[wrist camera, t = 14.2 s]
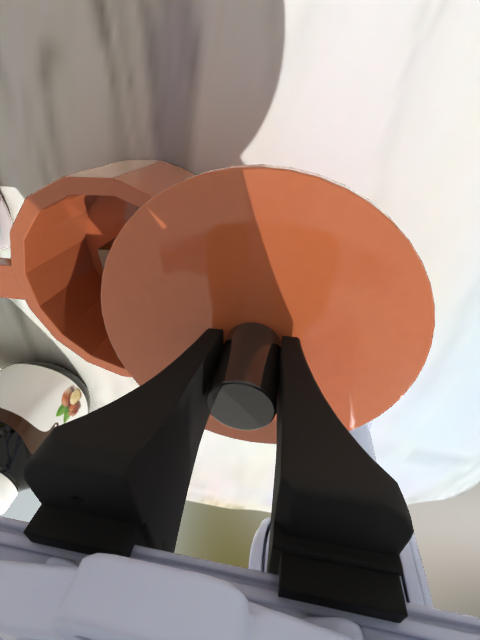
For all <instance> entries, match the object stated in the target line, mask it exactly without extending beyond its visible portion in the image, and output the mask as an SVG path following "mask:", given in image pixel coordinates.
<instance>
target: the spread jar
mask: <svg viewBox="0 0 480 640" xmlns="http://www.w3.org/2000/svg"><path fill="white" fill-rule="evenodd" d="M89 408H90V396H89V392H88V390H87V388H86V386H85V385H84V383H83V382H82V381H81V380H80V379H79V378H78V377H77V376H76V375H75V374H73V373H72V372H70V371H69V370H67V369H65V368H63V367H61V366H58V365H55V364H51V363H45V362H21V363H16V364H12V365H9V366H7V367H5V368H3V369H2V370H0V515H2V514H3V513H5V512H6V510H7V509H8V507H9V506H10V505H11V504H12V502H13V501H14V500H15V498H16V497H17V494H18V492H20V491H24V490H28V489H31V488H30V487H29V486H28V484H27V483H26V481H25V479H24V477H23V467H24V465H25V464H26V463H27V461H28V460H29V459H30V457H31V456H32V455H33V454H34V452H35V451H36V450H37V448H38V447H39V446H40V445H41V443H42V442H43V441H44V439H45V438H46V437H47V436H48V435H49V433H50V432H51V431H52V430H53V429H54V428H55V427H56V426H59V425H62V424H64V423H67V422H69V421H72V420H74V419H77V418H79V417H81V416H84V415H86V414H89Z"/></svg>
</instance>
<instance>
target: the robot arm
mask: <svg viewBox="0 0 480 640" xmlns="http://www.w3.org/2000/svg"><path fill="white" fill-rule="evenodd" d="M223 346H224V338H223V329H213V328H208V329H207V330H206V331H205V332H204V333H203V334H202V335H201V336H200V337H199V338H198V339H197V340H196V341H195V342H194V343H193V344H192V345H191V346H190V347H189V348H188V349H187V350H185V351H184V352H183V353H182V354H181V355H180V356H179V357H178V358H177V359H176V360H174V361H173V362H172V363H171V364H169V365H168V366H167V367H166V368H165V369H163V370H162V371H161V372H160V373H158V374H157V375H156V376H154V377H153V378H151V379H150V380H149V381H147V382H146V383H144V384H143V385H141V386H140V387H138V388H136V389H134V390H133V391H131V392H129V393H128V394H126V395H124V396H123V397H121V398H119V399H117V400H115V401H113V402H111V403H109V404H108V405H106V406H104V407H101V408H99V409H97V410H95V411H93V412H91V413H89V414H86V415H84V416H81V417H79V418H77V419H74V420H72V421H69V422H67V423H64V424H62V425H59V426H56V427H55V428H54V429H53V430H52V431H51V432H50V433H49V435H48V436H47V437H46V438H45V439H44V441H43V442H42V443H41V445H40V446H39V447H38V448H37V450H36V451H35V452H34V454H33V455H32V456H31V457H30V459H29V460H28V461H27V463H26V464H25V465H24V467H23V477H24V479H25V481H26V483H27V484H28V486H29V487H30V488H31V490H32V491H33V492H34V494H35V495H36V497H37V498H38V499H39V501H40V502H41V503H42V505H41V506H40V508H39V509H38V511H37V512H36V514H35V515H34V517H33V518H32V520H31V521H30V523H29V522H24V521H20V520H15V519H10V518H5V517H1V516H0V640H480V618H479V617H474V616H470V615H465V614H460V613H456V612H451V611H446V610H441V609H437V608H434V607H433V603H432V599H431V595H430V591H429V587H428V583H427V579H426V575H425V571H424V567H423V564H422V560H421V556H420V553H419V549H418V545H417V542H416V539H415V536H414V530H413V526H412V520H411V516H410V514H409V510H408V508H407V505H406V502H405V500H404V497H403V495H402V493H401V490H400V488H399V486H398V484H397V482H396V481H395V480H394V479H393V478H392V477H391V476H390V475H389V474H388V473H387V472H386V471H385V470H383V469H382V468H381V467H380V466H379V465H378V464H377V463H376V458H375V453H374V449H373V444H372V439H371V434H370V426H371V424H372V421H373V420H371V421H370V422H368V423H366V424H364V425H362V426H360V427H358V428H356V429H353V430H351V431H348V430H347V429H346V427H345V426H344V425H343V424H342V422H341V421H340V419H339V418H338V417H337V415H336V414H335V412H334V411H333V409H332V408H331V406H330V405H329V403H328V402H327V400H326V399H325V397H324V395H323V394H322V392H321V390H320V388H319V386H318V385H317V383H316V381H315V379H314V377H313V375H312V372H311V370H310V368H309V366H308V363H307V361H306V358H305V356H304V353H303V350H302V346H301V342H300V339H299V338H298V337H290V336H282V343H281V353H280V364H279V390H278V401H277V411H276V426H277V450H276V466H275V478H274V490H273V501H272V513H271V518H269V517H268V518H266V519H264V520H263V521H262V523H261V525H260V526H259V528H258V530H257V531H256V533H255V535H254V538H253V542H252V546H251V551H250V558H249V569H247V568H242V567H238V566H233V565H228V564H223V563H219V562H214V561H209V560H204V559H200V558H195V557H190V556H186V555H181V554H176V553H174V550H175V545H176V541H177V536H178V531H179V527H180V522H181V517H182V513H183V509H184V504H185V500H186V496H187V491H188V487H189V483H190V479H191V475H192V471H193V467H194V463H195V459H196V455H197V451H198V448H199V444H200V441H201V438H202V435H203V432H204V429H205V426H206V424H207V421H208V418H209V416H210V412H209V410H208V408H207V405H206V395H207V392H208V389H209V386H210V384H211V381H212V378H213V375H214V372H215V369H216V366H217V363H218V360H219V357H220V354H221V351H222V348H223Z"/></svg>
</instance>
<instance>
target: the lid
mask: <svg viewBox="0 0 480 640" xmlns="http://www.w3.org/2000/svg"><path fill="white" fill-rule="evenodd" d="M101 306H102V315H103V319H104V323H105V328H106V331H107V334H108V336H109V339H110V342H111V344H112V346H113V348H114V350H115V352H116V354H117V356H118V358H119V359H120V361H121V362H122V364H123V365H124V367H125V368H126V370H127V371H128V373H129V374H130V375H131V376H132V377H133V379H134V380H135V381H136V382H137V383H138V384H139V385H140V386H141V385H143V384H144V383H146V382H147V381H149V380H150V379H151V378H153V377H154V376H156V375H157V374H158V373H160V372H161V371H162V370H163V369H165V368H166V367H167V366H168V365H169V364H171V363H172V362H173V361H174V360H176V359H177V358H178V357H179V356H180V355H181V354H182V353H183V352H184V351H185V350H187V349H188V348H189V347H190V346H191V345H192V344H193V343H194V342H195V341H196V340H197V339H198V338H199V337H200V336H201V335H202V334H203V333H204V332H205V331H206V330H207V329H208V328H213V329H223V338H224V346H223V348H222V351H221V354H220V357H219V360H218V363H217V366H216V369H215V372H214V375H213V378H212V381H211V384H210V386H209V389H208V392H207V395H206V405H207V408H208V410H209V412H210V416H209V418H208V421H207V424H206V426H205V429H206V430H209V431H211V432H214V433H217V434H220V435H223V436H227V437H231V438H234V439H239V440H245V441H250V442H258V443H269V444H277V426H276V411H277V401H278V390H279V364H280V353H281V343H282V336H290V337H298V338H299V339H300V342H301V346H302V350H303V353H304V356H305V358H306V361H307V363H308V366H309V368H310V370H311V372H312V375H313V377H314V379H315V381H316V383H317V385H318V386H319V388H320V390H321V392H322V394H323V395H324V397H325V399H326V400H327V402H328V403H329V405H330V406H331V408H332V409H333V411H334V412H335V414H336V415H337V417H338V418H339V419H340V421H341V422H342V424H343V425H344V426H345V427H346V429H347V430H348V431H351V430H353V429H356V428H358V427H360V426H362V425H364V424H366V423H368V422H370V421H371V420H373V419H375V418H376V417H378V416H380V415H381V414H382V413H384V412H385V411H386V410H388V409H389V408H390V407H391V406H393V405H394V404H395V403H396V402H397V401H398V400H399V399H400V398H401V397H402V396H403V395H404V394H405V393H406V392H407V390H408V389H409V388H410V386H411V385H412V384H413V383H414V381H415V380H416V378H417V377H418V375H419V373H420V371H421V369H422V368H423V366H424V364H425V361H426V359H427V356H428V353H429V350H430V347H431V344H432V338H433V332H434V327H435V304H434V299H433V294H432V288H431V283H430V281H429V278H428V276H427V273H426V270H425V268H424V265H423V262H422V261H421V259H420V257H419V256H418V254H417V252H416V251H415V249H414V247H413V246H412V244H411V242H410V241H409V239H408V238H407V237H406V236H405V235H404V234H403V232H402V231H401V230H400V229H399V228H398V227H397V225H396V224H395V223H394V222H393V221H392V220H391V218H390V217H389V216H388V215H386V214H385V213H384V212H383V211H382V210H380V209H379V208H378V207H377V206H376V205H374V204H373V203H372V202H371V201H370V200H369V199H367V198H365V197H364V196H362V195H360V194H359V193H357V192H355V191H354V190H352V189H350V188H349V187H347V186H345V185H343V184H341V183H338V182H336V181H334V180H331V179H329V178H326V177H324V176H322V175H319V174H316V173H312V172H308V171H304V170H300V169H296V168H292V167H283V166H274V165H264V164H259V165H237V166H230V167H225V168H219V169H214V170H209V171H206V172H203V173H200V174H198V175H195V176H192V177H189V178H186V179H184V180H182V181H180V182H178V183H176V184H175V185H173V186H171V187H169V188H167V189H165V190H164V191H162V192H160V193H158V194H157V195H156V196H154V197H153V198H152V199H150V200H149V201H148V202H147V203H145V204H144V205H143V206H142V207H140V208H139V209H138V210H137V211H136V212H135V214H134V215H133V216H132V217H131V218H130V219H129V220H128V221H127V222H126V223H125V225H124V226H123V228H122V229H121V231H120V232H119V234H118V236H117V237H116V239H115V240H114V242H113V244H112V247H111V249H110V251H109V254H108V256H107V259H106V262H105V267H104V271H103V275H102V283H101Z"/></svg>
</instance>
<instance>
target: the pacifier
mask: <svg viewBox="0 0 480 640" xmlns="http://www.w3.org/2000/svg"><path fill="white" fill-rule="evenodd" d="M12 225H13V224H12V219H11V216H10V213H9V211H8V208H7V206H6V204H5V202H4V200H3V198H2V197H1V195H0V249H1V250H3V249H6V248H8V247H9V246H10V230H11V227H12Z"/></svg>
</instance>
